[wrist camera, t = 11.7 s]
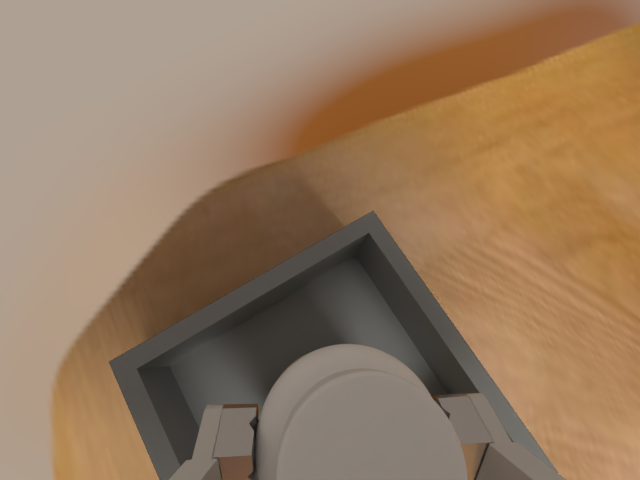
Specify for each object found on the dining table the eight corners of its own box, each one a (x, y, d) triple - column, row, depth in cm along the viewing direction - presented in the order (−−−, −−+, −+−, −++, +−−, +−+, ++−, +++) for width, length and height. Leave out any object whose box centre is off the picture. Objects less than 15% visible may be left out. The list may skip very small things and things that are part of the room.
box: (357, 240, 21) (373, 210, 17) (496, 445, 18) (558, 472, 14) (152, 361, 18) (108, 361, 14) (276, 628, 15) (269, 733, 11)
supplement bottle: (334, 325, 18) (379, 288, 8) (409, 416, 16) (556, 487, 7) (245, 402, 16) (184, 459, 7) (322, 507, 15) (366, 737, 6)
